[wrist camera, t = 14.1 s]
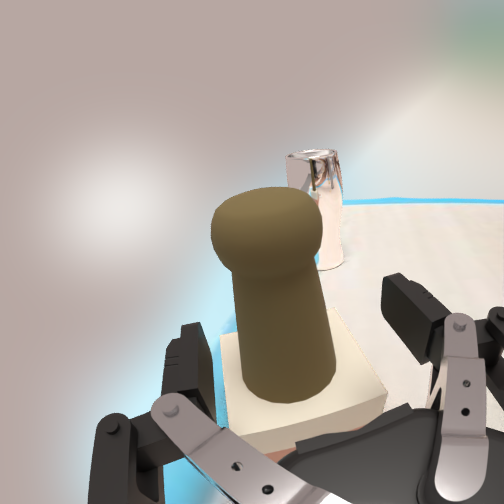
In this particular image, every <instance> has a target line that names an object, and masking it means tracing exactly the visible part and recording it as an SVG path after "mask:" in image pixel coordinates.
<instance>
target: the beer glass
mask: <svg viewBox="0 0 504 504" xmlns="http://www.w3.org/2000/svg"><path fill="white" fill-rule="evenodd" d="M285 158H286V169H287V181H288V187H290V188H296V189H299V190H302V191H304V192H306V193H308V194H309V195H310V196H311V197H312V199H313V200H314V201H315V202H316V204H317V205H318V207H319V210H320V212H321V215H322V222H323V236H322V242H321V247H320V249H319V251H318V252H317V254H316V255H315V257H314V258H315V262H316V266H317V270H329V269H333V268H335V267H337V266H339V265H340V264H341V263H342V262H343V260H344V254H343V250H342V246H341V241H340V222H341V213H342V201H343V190H342V189H343V188H342V177H341V171H340V165H339V160H338V155H337V151H336V150H332V149H315V150H306V151H300V152H295V153H291V154H288V155H286V156H285Z"/></svg>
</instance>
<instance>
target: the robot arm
mask: <svg viewBox="0 0 504 504" xmlns="http://www.w3.org/2000/svg"><path fill="white" fill-rule="evenodd" d="M381 311H382V314H383V317H384V318H385V320H386V321H387V322H388V323H389V325H390V326H391V327H392V328H393V330H394V331H395V332H396V333H397V335H398V336H399V337H400V339H401V340H402V341H403V342H404V344H405V345H406V346H407V348H408V349H409V350H410V351H411V353H412V354H413V355H414V357H415V358H416V359H417V361H418V362H419V363H420V365H423V364H425V363H427V362H429V361H431V363H432V366H431V371H430V381H429V389H428V396H427V402H426V406H425V408H417V409H411V407H410V405H409V404H408V403H405V404H403V405H401V406H399V407H396V408H394V409H392V410H389V411H387V412H385V413H382V414H381V415H380V416H378V417H377V418H375V419H374V420H372V421H371V422H369V423H368V424H366V425H365V426H363V427H362V428H360V429H358V430H355V431H346V432H337V433H327V434H322V435H319V436H315V437H312V438H308V439H305V440H301V441H297V442H295V445H296V450H294V451H292V452H290V453H289V454H287V455H286V456H284V457H283V458H282V459H280V460H279V461H278V462H277V463H275V462H274V461H272V460H271V459H269V458H268V457H267V456H265V455H264V454H262V453H261V452H259V451H258V450H257V449H255V448H254V447H253V446H251V445H250V444H248V443H247V442H246V441H244V440H243V439H242V438H240V437H239V436H238V435H237V434H235V433H234V432H233V431H231V430H230V429H228V428H226V427H223V428H221V427H220V426H218V425H217V420H216V407H215V393H214V377H213V362H212V356H211V352H210V348H209V346H208V343H207V340H206V337H205V335H204V332H203V329H202V326H201V324H200V322H196V323H191V324H186V325H182V326H181V337H180V338H177V339H172V341H171V342H170V344H169V345H168V347H167V348H166V355H165V359H166V360H165V364H164V367H165V368H164V372H163V381H162V391H161V397H159V398H158V399H157V400H156V401H155V402H154V403H153V405H152V407H151V411H149V412H147V413H145V414H143V415H140V416H137V417H135V418H132V419H128V417H126V416H125V415H123V414H120V413H112V414H109V415H107V416H105V417H104V418H103V419H101V421H100V422H99V423H98V425H97V429H96V434H95V440H94V447H93V455H92V463H91V471H90V481H89V492H88V504H165V494H164V477H163V465H165V464H168V463H171V462H173V461H176V460H179V459H181V458H185V459H186V460H187V461H188V462H189V463H190V464H191V465H192V466H193V467H194V468H195V469H196V470H197V471H198V472H199V473H200V474H201V475H202V476H204V477H205V478H206V479H207V480H208V481H209V482H210V483H211V484H212V485H213V486H214V487H215V488H216V489H217V490H219V491H220V492H221V493H222V494H223V495H224V496H225V497H226V498H227V499H229V500H230V501H231V502H232V503H233V504H504V432H501V431H498V430H495V429H491V428H488V427H486V386H487V387H488V389H489V390H490V392H491V393H492V394H493V396H494V397H495V399H496V400H497V402H498V403H499V405H500V406H501V407H502V409H503V410H504V358H503V357H502V356H501V355H502V352H503V350H504V307H494V308H492V309H490V311H489V313H488V316H487V319H481V320H475V321H474V320H473V319H472V318H471V317H469V316H468V315H466V314H463V313H453V314H452V313H451V312H450V311H449V310H448V309H447V308H446V307H445V306H444V305H443V304H442V303H441V302H440V301H438V300H437V299H436V298H435V297H433V295H432V294H431V293H430V292H428V290H426V289H425V288H424V287H423V286H422V285H421V284H419V283H416V282H414V281H412V280H410V281H409V280H408V279H407V278H405V277H404V276H403V275H402V274H401V273H396V274H392V275H389V276H386V277H384V278H383V281H382V295H381Z"/></svg>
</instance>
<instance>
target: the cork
mask: <svg viewBox="0 0 504 504" xmlns="http://www.w3.org/2000/svg"><path fill="white" fill-rule="evenodd" d="M322 236H323V222H322V215H321V212H320V210H319V207H318V205H317V204H316V202H315V201H314V200H313V199H312V197H311V196H310V195H309V194H308V193H306V192H304V191H302V190H299V189H296V188H290V187H268V188H260V189H254V190H251V191H247V192H244V193H241V194H238V195H236V196H233V197H231V198H229V199H227V200H226V201H224V202H223V203H222V204H221V205H220V206H219V207H218V208H217V209H216V210H215V213H214V216H213V219H212V223H211V240H212V244H213V248H214V250H215V252H216V254H217V255H218V257H219V259H220V261H221V262H222V263H223V265H224V266H225V267H226V268H228V269H229V270H230V271H231V272H232V281H233V292H234V302H235V312H236V322H237V332H238V341H239V351H240V360H241V369H242V378H243V381H244V383H245V385H246V387H247V388H248V390H249V391H251V392H252V393H253V394H254V395H256V396H257V397H258V398H260V399H263V400H266V401H269V402H272V403H284V404H290V403H295V402H300V401H305V400H307V399H309V398H311V397H313V396H315V395H317V394H319V393H320V392H321V391H322V390H323V389H324V388H326V387H327V386H328V385H329V384H330V382H331V380H332V378H333V376H334V374H335V372H336V356H335V350H334V345H333V340H332V335H331V330H330V325H329V320H328V315H327V311H326V306H325V301H324V297H323V292H322V288H321V283H320V279H319V275H318V270H317V266H316V262H315V258H314V257H315V255H316V254H317V252H318V251H319V249H320V247H321V242H322Z"/></svg>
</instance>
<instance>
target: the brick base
mask: <svg viewBox="0 0 504 504" xmlns="http://www.w3.org/2000/svg"><path fill="white" fill-rule="evenodd" d="M326 311H327V315H328V320H329V325H330V330H331V335H332V340H333V345H334V350H335V356H336V372H335V374H334V376H333V378H332V380H331V382H330V384H329V385H328V386H327V387H326V388H324V389H323V390H322V391H321V392H320V393H319V394H317V395H315V396H313V397H311V398H309V399H307V400H305V401H300V402H295V403H290V404H284V403H272V402H269V401H266V400H263V399H260V398H258V397H257V396H256V395H254V394H253V393H252V392H251V391H249V390H248V388H247V387H246V385H245V383H244V381H243V378H242V369H241V360H240V351H239V341H238V332H233V333H228V334H223V335H220V345H221V356H222V366H223V376H224V386H225V395H226V404H227V413H228V422H229V429H230V430H231V431H233V432H234V433H235V434H237V435H238V436H239V437H240V438H242V439H243V440H244V441H246V442H247V443H248V444H250V445H251V446H253V447H254V448H255V449H257V450H258V451H259V452H261V453H262V454H264V455H265V456H267V457H268V458H269V459H271V460H272V461H274V462H275V463H277V462H278V461H279V460H280V459H282V458H283V457H284V456H286V455H287V454H289V453H290V452H292V451H294V450H296V445H295V442H297V441H301V440H305V439H308V438H312V437H315V436H319V435H322V434H327V433H337V432H346V431H355V430H358V429H360V428H362V427H363V426H365V425H366V424H368V423H369V422H371V421H372V420H374V419H375V418H377V417H378V416H380V415H381V414H382V413H383V409H384V405H385V402H386V398H387V394H388V392H387V390H386V389H385V387H384V385H383V384H382V382H381V380H380V379H379V377H378V375H377V374H376V372H375V371H374V369H373V367H372V366H371V364H370V362H369V361H368V359H367V358H366V356H365V354H364V353H363V351H362V350H361V348H360V346H359V345H358V343H357V342H356V340H355V338H354V337H353V335H352V334H351V332H350V331H349V329H348V327H347V326H346V324H345V323H344V321H343V320H342V318H341V316H340V315H339V313H338V312H337V310H336V309H335V307H334V308H330V309H326Z"/></svg>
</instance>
